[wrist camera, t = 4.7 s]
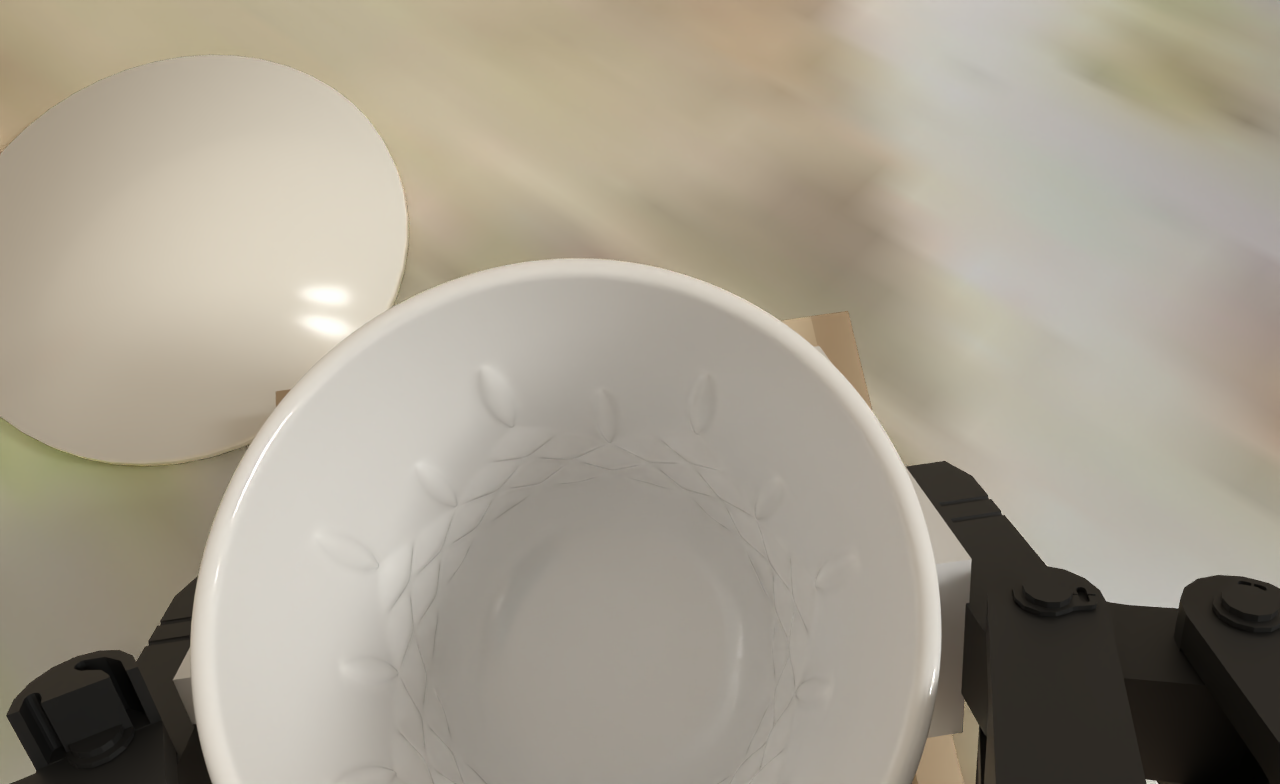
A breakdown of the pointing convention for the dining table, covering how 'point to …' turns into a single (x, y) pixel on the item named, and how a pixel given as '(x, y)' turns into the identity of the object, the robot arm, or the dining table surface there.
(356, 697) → the white cup
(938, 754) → the frame
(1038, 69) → the dining table surface
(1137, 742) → the robot arm
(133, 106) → the coaster
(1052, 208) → the dining table surface
